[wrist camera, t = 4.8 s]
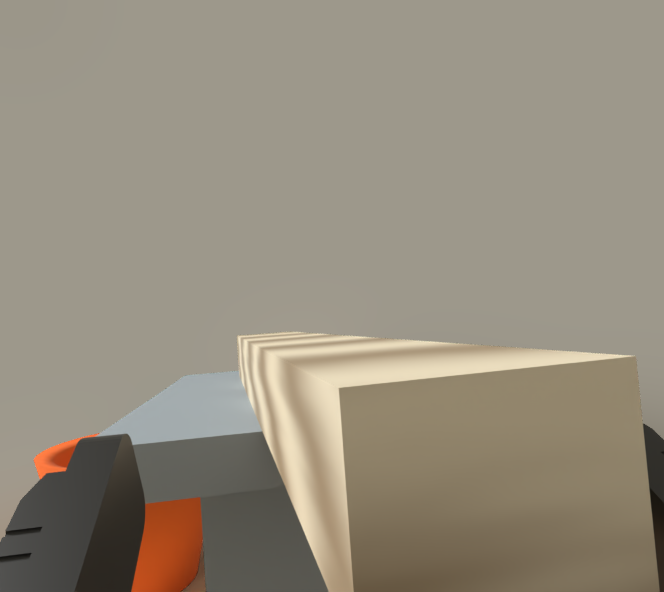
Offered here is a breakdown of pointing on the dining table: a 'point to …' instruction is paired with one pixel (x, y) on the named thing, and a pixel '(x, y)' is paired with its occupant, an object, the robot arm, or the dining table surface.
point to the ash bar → (457, 462)
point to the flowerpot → (152, 532)
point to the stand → (223, 483)
